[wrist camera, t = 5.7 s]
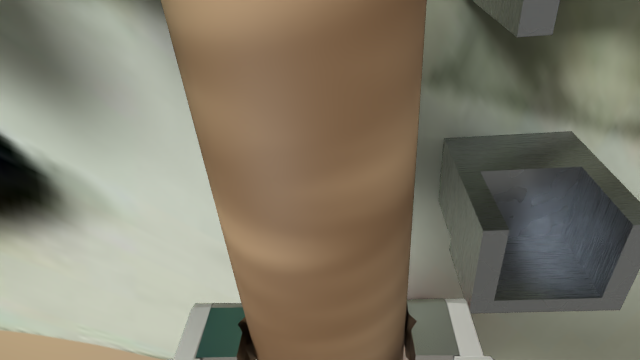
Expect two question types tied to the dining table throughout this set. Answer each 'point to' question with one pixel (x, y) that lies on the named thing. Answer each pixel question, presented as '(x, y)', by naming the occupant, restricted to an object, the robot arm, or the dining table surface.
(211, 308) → the robot arm
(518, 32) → the bracket
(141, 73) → the dining table surface
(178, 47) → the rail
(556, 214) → the bracket
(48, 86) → the dining table surface
